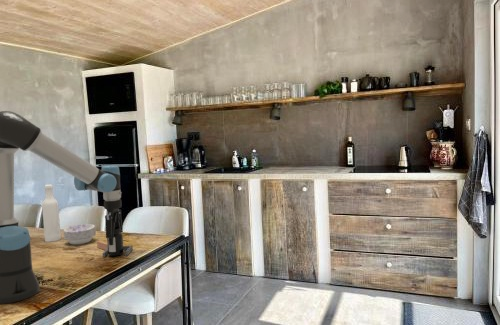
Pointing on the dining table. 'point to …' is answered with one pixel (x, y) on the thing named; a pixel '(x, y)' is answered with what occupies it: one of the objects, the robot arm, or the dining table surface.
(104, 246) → the holder
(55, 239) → the bottle
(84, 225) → the paper bowls
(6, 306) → the dining table surface
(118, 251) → the supplement bottle
